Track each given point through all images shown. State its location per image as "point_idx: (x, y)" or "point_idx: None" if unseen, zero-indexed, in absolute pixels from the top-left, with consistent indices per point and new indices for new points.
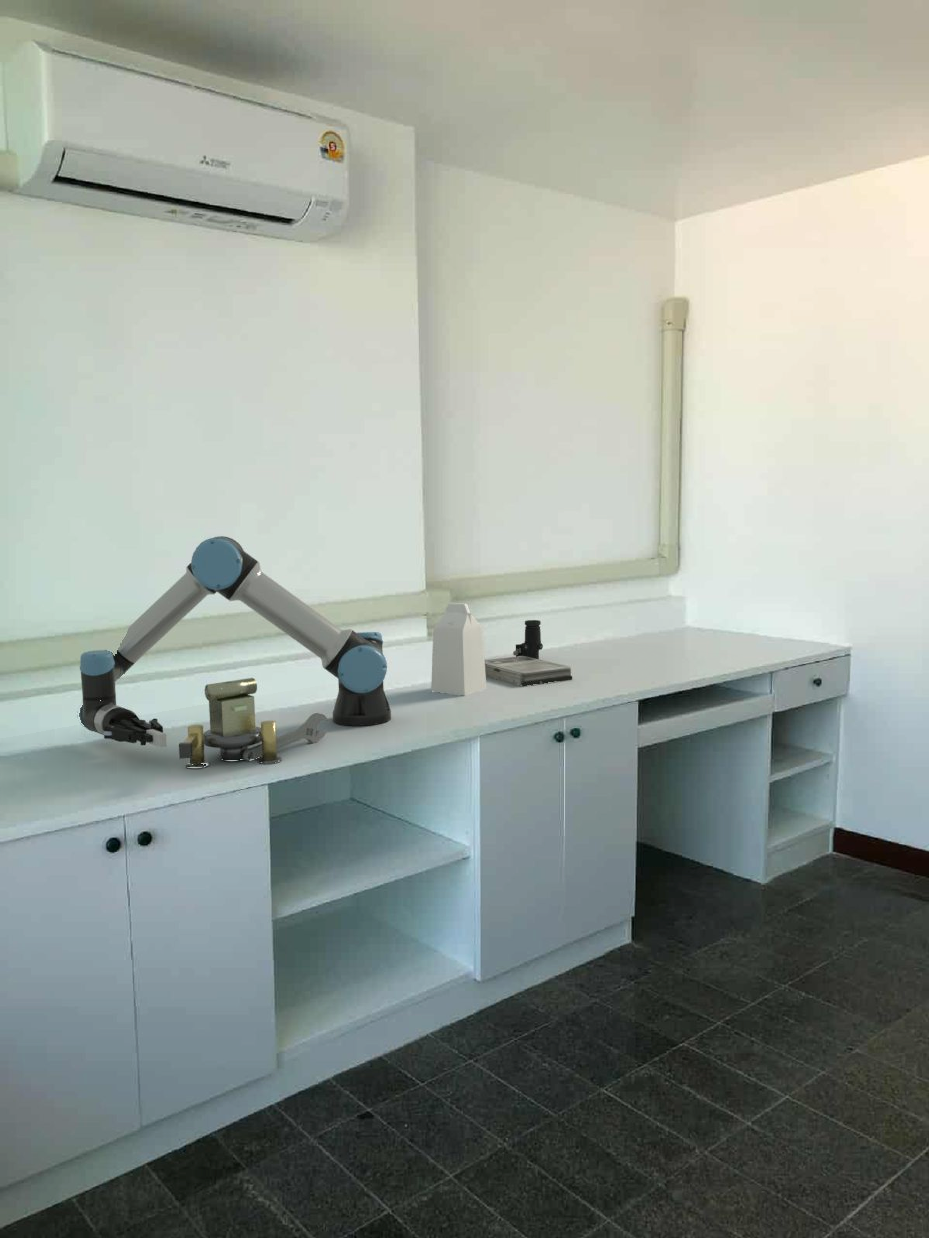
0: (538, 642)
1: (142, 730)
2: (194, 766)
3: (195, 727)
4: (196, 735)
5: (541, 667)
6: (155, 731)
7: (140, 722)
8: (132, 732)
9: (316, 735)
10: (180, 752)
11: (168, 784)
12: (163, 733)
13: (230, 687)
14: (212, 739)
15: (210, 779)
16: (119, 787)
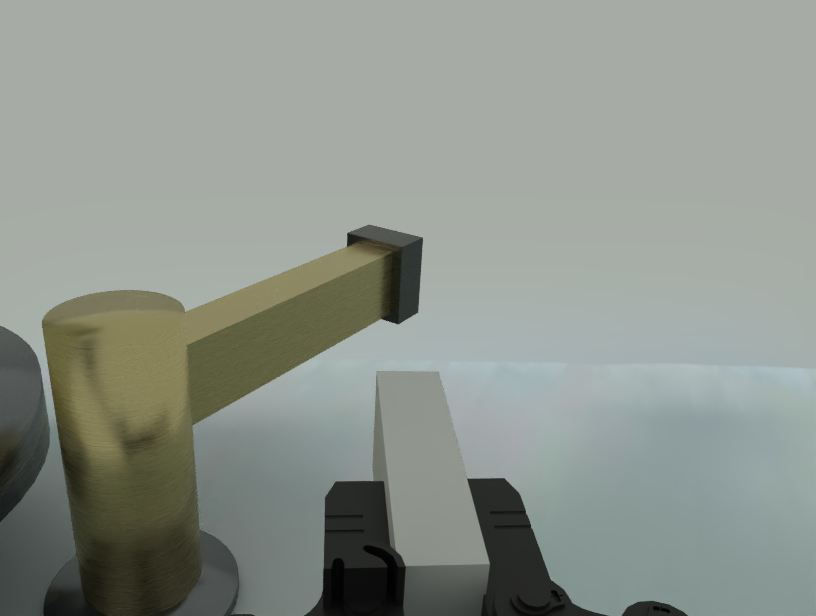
0: None
1: (535, 588)
2: (202, 550)
3: (141, 302)
4: (202, 308)
5: None
6: (416, 468)
7: None
8: (674, 610)
9: None
10: (413, 280)
11: (473, 429)
12: (386, 388)
13: None
14: (41, 383)
15: (281, 393)
16: (723, 508)
